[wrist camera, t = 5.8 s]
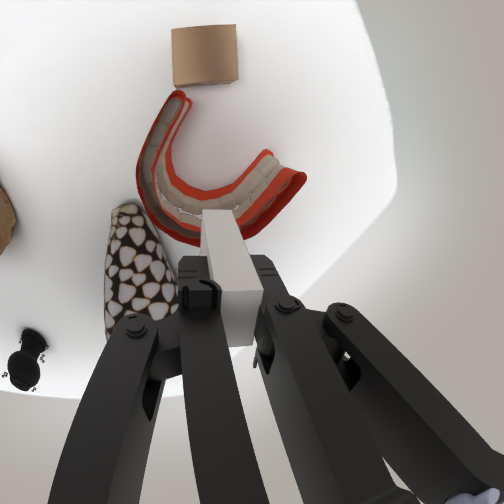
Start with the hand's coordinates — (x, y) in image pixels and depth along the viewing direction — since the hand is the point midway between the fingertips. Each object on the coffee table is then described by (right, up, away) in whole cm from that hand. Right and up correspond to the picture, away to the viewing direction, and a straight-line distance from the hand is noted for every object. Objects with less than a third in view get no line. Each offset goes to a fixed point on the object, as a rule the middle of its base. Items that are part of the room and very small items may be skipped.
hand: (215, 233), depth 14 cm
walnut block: (-3, +17, +6) cm, 18 cm away
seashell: (-12, -4, +17) cm, 21 cm away
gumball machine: (-34, -15, +18) cm, 41 cm away
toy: (-3, +8, +12) cm, 15 cm away
